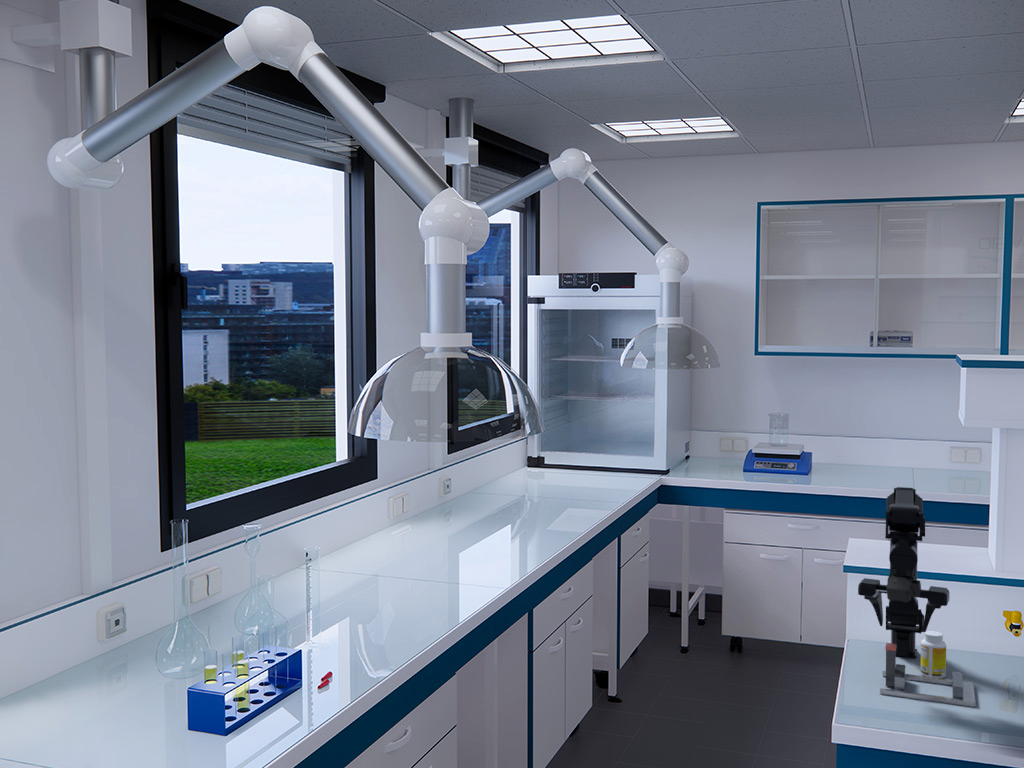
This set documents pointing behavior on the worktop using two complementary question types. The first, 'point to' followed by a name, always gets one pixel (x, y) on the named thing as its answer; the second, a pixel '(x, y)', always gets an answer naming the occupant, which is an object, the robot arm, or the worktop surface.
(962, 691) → the frame
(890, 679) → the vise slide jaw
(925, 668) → the supplement bottle
